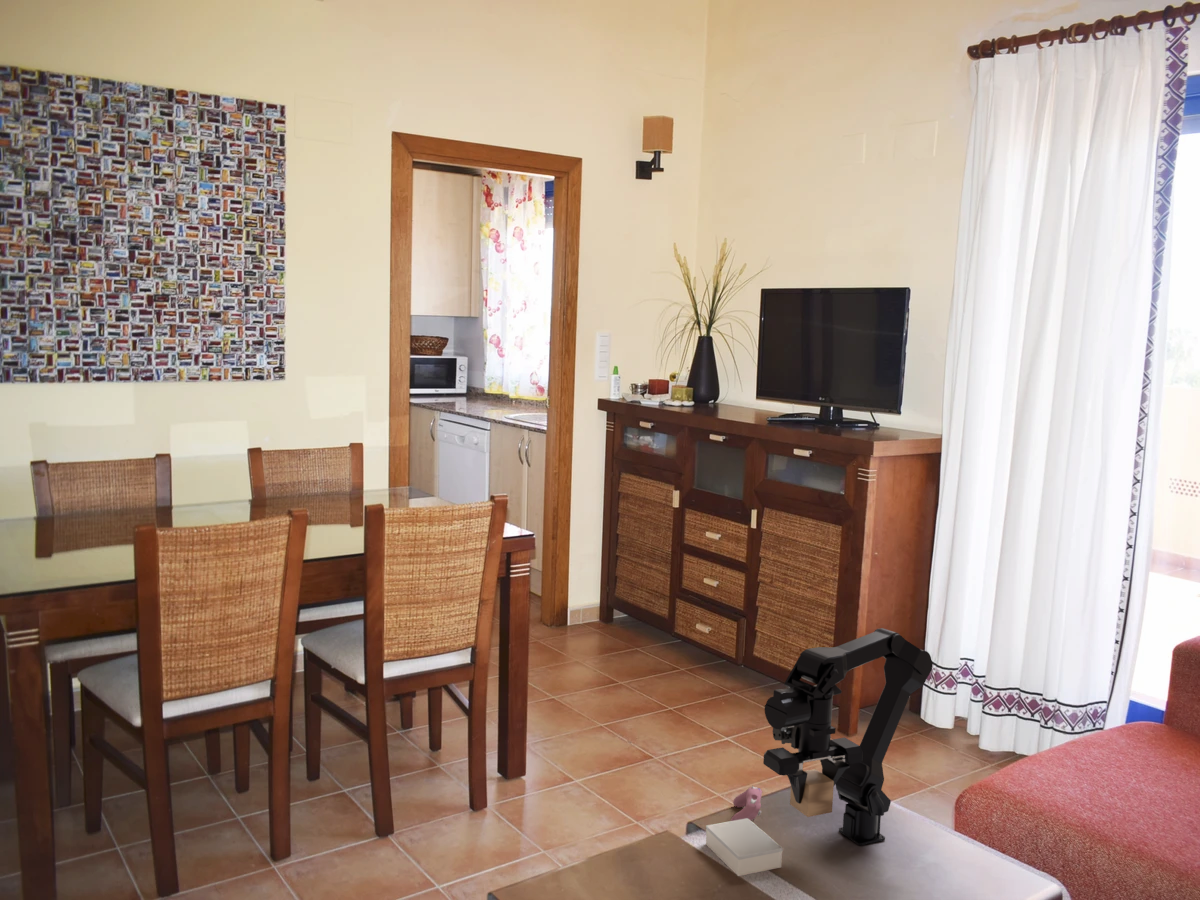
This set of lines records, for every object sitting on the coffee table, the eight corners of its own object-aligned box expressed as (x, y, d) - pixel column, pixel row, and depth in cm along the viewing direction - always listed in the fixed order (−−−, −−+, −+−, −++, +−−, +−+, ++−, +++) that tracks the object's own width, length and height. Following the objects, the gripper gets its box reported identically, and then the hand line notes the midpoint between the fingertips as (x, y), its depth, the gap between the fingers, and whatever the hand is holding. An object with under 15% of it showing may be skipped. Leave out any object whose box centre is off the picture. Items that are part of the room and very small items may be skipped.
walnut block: (814, 799, 182) (815, 769, 182) (832, 812, 177) (833, 781, 177) (789, 804, 180) (791, 773, 180) (807, 817, 175) (809, 785, 175)
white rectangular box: (746, 837, 186) (747, 818, 185) (781, 869, 175) (782, 848, 174) (705, 845, 182) (705, 825, 182) (737, 878, 171) (738, 856, 171)
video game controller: (748, 836, 189) (766, 808, 188) (728, 824, 189) (745, 795, 188) (750, 814, 198) (767, 786, 197) (731, 802, 199) (748, 775, 198)
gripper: (829, 698, 188) (825, 775, 190) (748, 710, 181) (745, 789, 182) (866, 718, 178) (862, 799, 180) (783, 731, 171) (778, 815, 172)
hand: (811, 800), depth 179 cm, fingers closed on walnut block, 5 cm apart
